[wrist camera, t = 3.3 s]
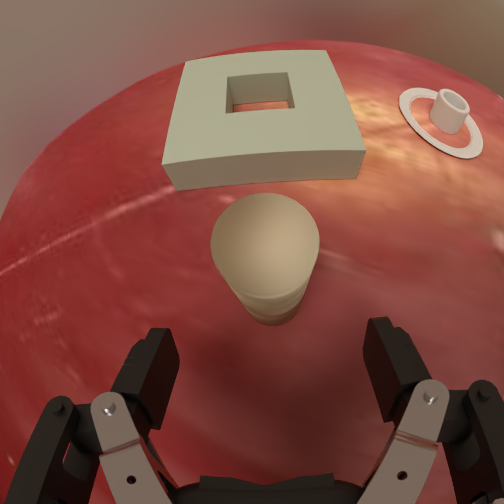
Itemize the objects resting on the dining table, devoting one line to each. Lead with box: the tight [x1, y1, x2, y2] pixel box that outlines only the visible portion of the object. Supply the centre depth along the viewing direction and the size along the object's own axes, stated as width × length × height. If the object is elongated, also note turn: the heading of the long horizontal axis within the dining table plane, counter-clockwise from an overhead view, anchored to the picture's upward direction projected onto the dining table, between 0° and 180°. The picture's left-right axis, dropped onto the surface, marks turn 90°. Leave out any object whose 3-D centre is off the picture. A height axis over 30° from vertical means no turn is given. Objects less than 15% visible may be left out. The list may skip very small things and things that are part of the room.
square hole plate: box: [162, 50, 366, 191], centre depth 25 cm, size 16×16×4 cm
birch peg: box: [211, 193, 319, 326], centre depth 16 cm, size 4×4×11 cm
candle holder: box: [399, 88, 483, 158], centre depth 24 cm, size 12×12×4 cm
